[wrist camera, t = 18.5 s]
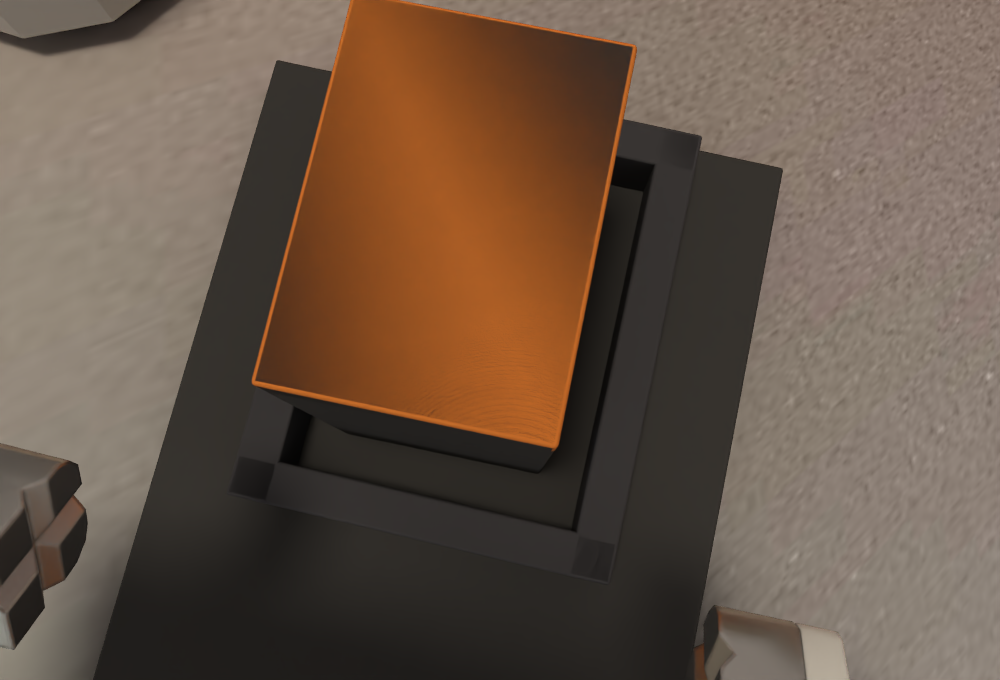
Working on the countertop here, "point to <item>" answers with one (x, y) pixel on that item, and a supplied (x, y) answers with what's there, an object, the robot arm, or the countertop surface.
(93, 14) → the jar
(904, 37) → the countertop surface
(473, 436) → the pad block
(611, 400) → the base pad
